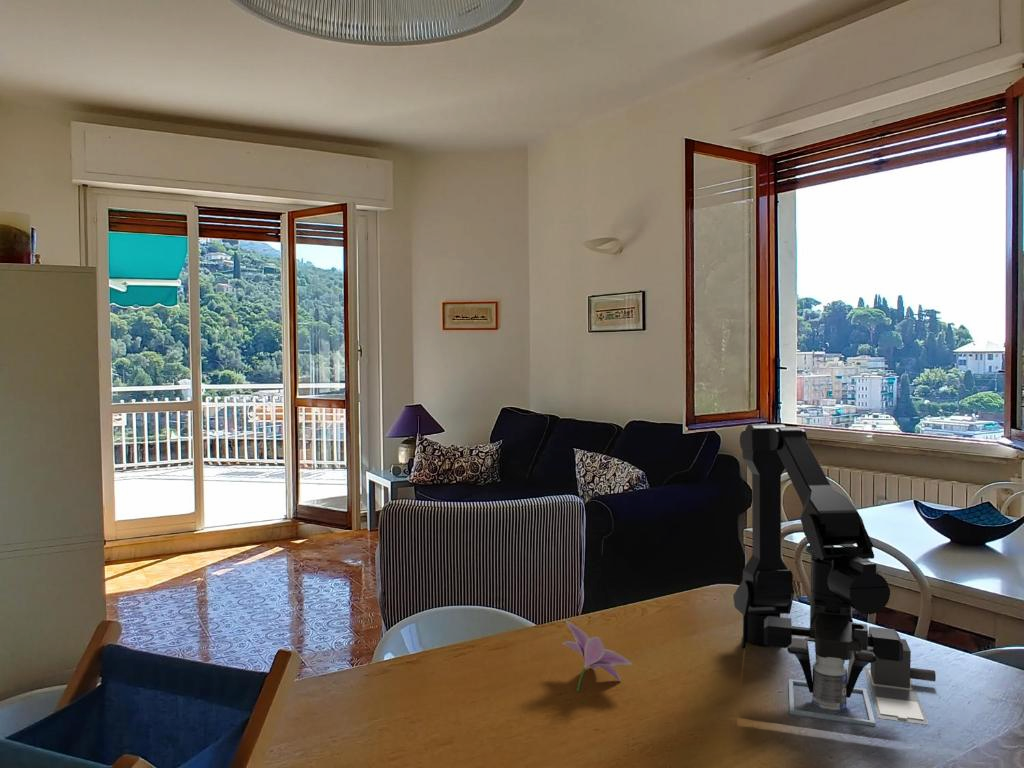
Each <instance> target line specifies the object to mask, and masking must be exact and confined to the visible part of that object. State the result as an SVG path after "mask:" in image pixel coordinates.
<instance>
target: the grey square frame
mask: <svg viewBox="0 0 1024 768" xmlns="http://www.w3.org/2000/svg"><path fill="white" fill-rule="evenodd" d="M794 685H799V686H806V687H808V685H807V682H806V680H799V679H792V678H789V679H788V698H789V699H788V706H789V715H794V716H801V717H802V716H803V717H808V718H816V719H824V720H830V721H831V720H832V721H838V722H845V723H852V724H857V725H858V724H859V725H865V726H870V727H871V726H873V727H875V726H876V721H875V718H874V713H873V709H872V705H871V701H870V697H869V694H868V690H867V688H863V687H862V688H860V687H855V686H854V689H853V691H852V693H860V694H862V696H863V700H864V704H865V709H866V713H867V716H868V719H864V718H863V719H862V718H855V717H849V716H843V715H836V714H835V715H834V714H830V713H829V714H828V713H822V712H821V713H820V712H814V711H806V710H801V709H800V710H799V709H795V701H794V700H795V698H794V697H795V696H794Z"/></svg>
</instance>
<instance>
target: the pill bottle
mask: <svg viewBox="0 0 1024 768" xmlns="http://www.w3.org/2000/svg"><path fill="white" fill-rule="evenodd" d="M845 662H846V660H842V659H840V658H833V657H827V658H823V657H820V656H818V655H817V654H816V653H815V662H813V665H812V681H813V693H811V694H812V696H811V701H812V703H813V704H814V705H815V706H817V707H820V709H821V708H822V709H824V710H830V711H841V710H844V709H846V708H847V699H848V698H847V672H848V668H847V667H846V665H845Z"/></svg>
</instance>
